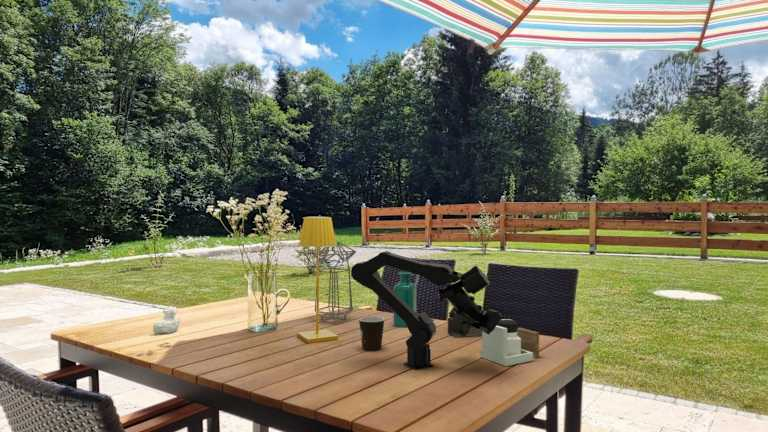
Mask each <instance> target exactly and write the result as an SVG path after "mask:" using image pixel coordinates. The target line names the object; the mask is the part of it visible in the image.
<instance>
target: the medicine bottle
mask: <svg viewBox="0 0 768 432" xmlns="http://www.w3.org/2000/svg"><path fill="white" fill-rule="evenodd" d="M498 326H501V327H504V328H507V357H508V356H513V355H518V354H521V338H520V337H519V336H518V335H517V328H518V322H517V321H515V320H514V319H509V318H507V319H505V318H504V319H503V318H502V319H501V320H500V321H499V323H498Z"/></svg>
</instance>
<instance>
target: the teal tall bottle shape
mask: <svg viewBox="0 0 768 432" xmlns="http://www.w3.org/2000/svg"><path fill="white" fill-rule="evenodd" d="M398 275H400V280H399V282H398V283H396V284H395V285H394V286H393V289H392V290H393V291H394V292H395V293H396V294H397V295H398V296H399V297H400V298H401V299H402V300H403V301H404V302H406V303H407V304H408V305H409V306H410V307H411V308H412V309H413V310H414V311H415V312H417V284H418V283H419V279H420V275H417V274H414V273H411V272H407V271H401V272H398ZM414 275H415V277H414V279H415V280H414V282H410V277H412V276H414ZM392 312H393V313H392V315H393V317H392V319H393V322H392V323H393V326H394V327H395V328H396V327H397V328H407V326H406V323H405V322H404V321H403V320H402V319H401V318H400V317H399V316H398V315H397V314H396V313H395V312H394V311H393V310H392Z"/></svg>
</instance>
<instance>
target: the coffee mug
mask: <svg viewBox="0 0 768 432" xmlns="http://www.w3.org/2000/svg"><path fill="white" fill-rule="evenodd" d="M358 321H359V332H360V341H361V347H362V350H363V351H366V352H377V351H378V352H379V351H380V350H382V345H383V344H382V342H383V334H384V326H385V318H384V317H379V316H378V317H377V316H363V317H361V318H359V319H358Z"/></svg>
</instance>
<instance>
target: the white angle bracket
mask: <svg viewBox="0 0 768 432" xmlns="http://www.w3.org/2000/svg"><path fill="white" fill-rule="evenodd" d="M481 337H482V343H481V345H482V346H481V347H482V348H479V349H480V351H479V353H480V354H479V355H480V357H481V358H483V359H486V360H488V361H491V362H494V363H496V364H499V365H501V366H505V367H510V366H513V365H519V364H523V363H527V362H532V361H534V358H533V353H532V352H529V351H526V350H523V349H521V354H518V355H513V356H508V357H507V328H504V327H501V326H496V327H495V329H494V330H493V331H492V332H491V333H490V334H486V333H485V332H483V331H482V336H481Z"/></svg>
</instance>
